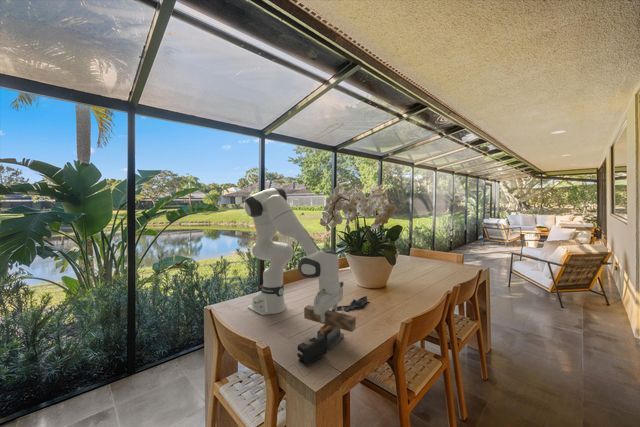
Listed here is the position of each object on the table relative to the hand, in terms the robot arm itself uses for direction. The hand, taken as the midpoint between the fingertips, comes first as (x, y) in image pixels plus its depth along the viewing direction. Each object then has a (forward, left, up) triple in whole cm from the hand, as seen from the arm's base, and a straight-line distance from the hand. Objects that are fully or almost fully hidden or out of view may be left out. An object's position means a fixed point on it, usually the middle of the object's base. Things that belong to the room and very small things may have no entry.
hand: (328, 317), depth 114 cm
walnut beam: (0, 0, -3) cm, 3 cm away
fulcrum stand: (0, 0, -11) cm, 11 cm away
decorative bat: (-5, +41, -12) cm, 43 cm away
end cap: (+1, -15, -11) cm, 19 cm away
